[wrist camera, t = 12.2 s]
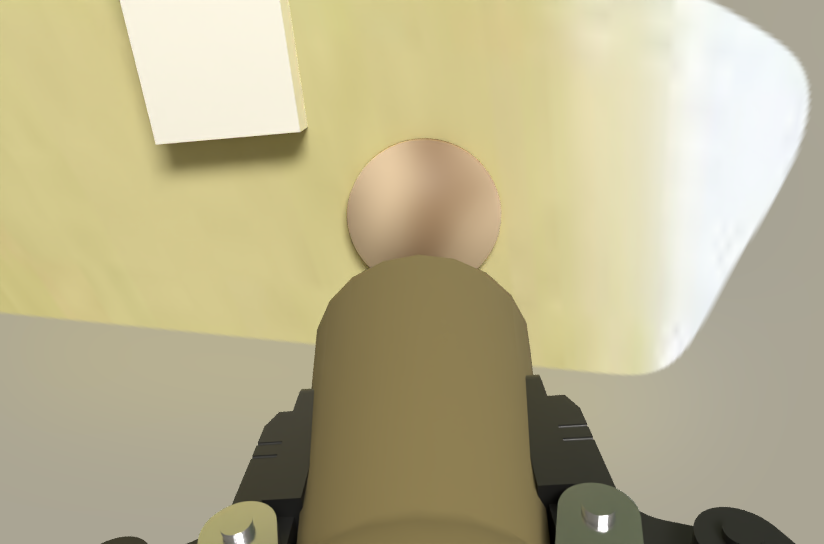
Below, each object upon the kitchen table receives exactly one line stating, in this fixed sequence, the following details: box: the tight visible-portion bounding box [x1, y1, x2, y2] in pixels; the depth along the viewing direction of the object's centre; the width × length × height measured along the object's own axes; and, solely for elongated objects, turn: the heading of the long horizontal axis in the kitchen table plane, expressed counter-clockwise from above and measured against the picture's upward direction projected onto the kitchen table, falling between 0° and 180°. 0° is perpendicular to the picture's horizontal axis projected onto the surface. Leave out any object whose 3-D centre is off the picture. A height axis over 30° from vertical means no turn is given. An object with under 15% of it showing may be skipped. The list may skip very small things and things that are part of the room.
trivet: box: [347, 138, 501, 269], centre depth 29 cm, size 8×8×1 cm
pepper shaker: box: [297, 255, 551, 544], centre depth 11 cm, size 6×6×11 cm
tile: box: [120, 0, 308, 144], centre depth 26 cm, size 7×2×9 cm
